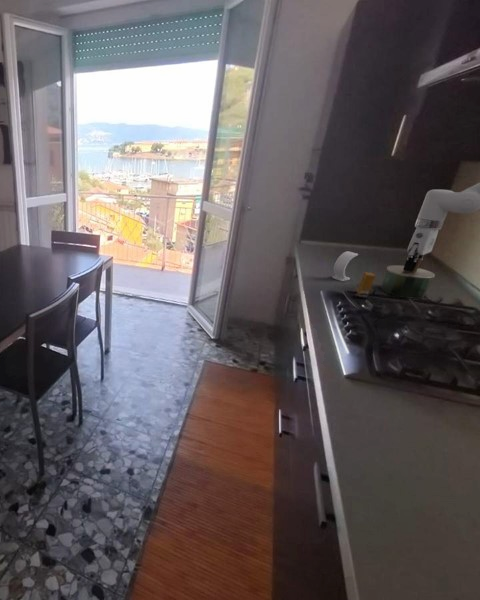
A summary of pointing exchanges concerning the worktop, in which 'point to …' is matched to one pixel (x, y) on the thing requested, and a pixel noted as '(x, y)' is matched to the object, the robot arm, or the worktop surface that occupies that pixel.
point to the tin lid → (415, 274)
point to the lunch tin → (405, 286)
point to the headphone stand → (342, 265)
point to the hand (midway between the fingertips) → (410, 269)
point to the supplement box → (366, 283)
